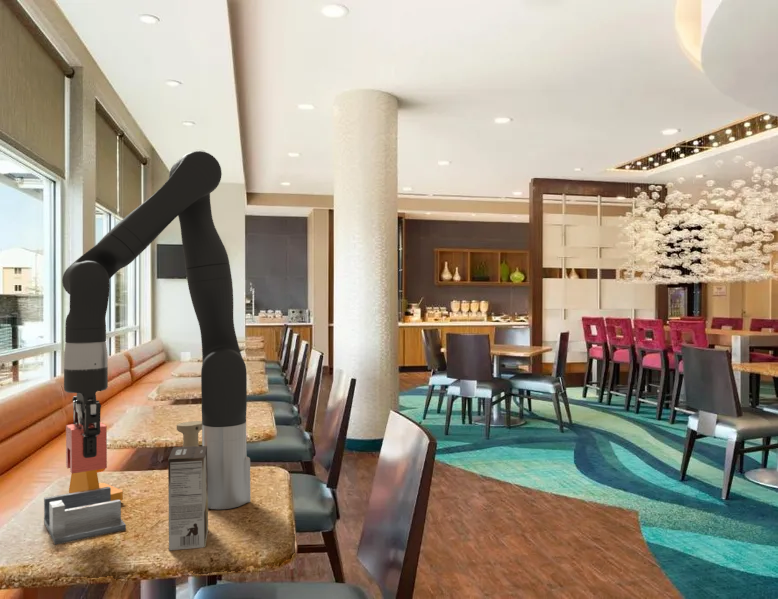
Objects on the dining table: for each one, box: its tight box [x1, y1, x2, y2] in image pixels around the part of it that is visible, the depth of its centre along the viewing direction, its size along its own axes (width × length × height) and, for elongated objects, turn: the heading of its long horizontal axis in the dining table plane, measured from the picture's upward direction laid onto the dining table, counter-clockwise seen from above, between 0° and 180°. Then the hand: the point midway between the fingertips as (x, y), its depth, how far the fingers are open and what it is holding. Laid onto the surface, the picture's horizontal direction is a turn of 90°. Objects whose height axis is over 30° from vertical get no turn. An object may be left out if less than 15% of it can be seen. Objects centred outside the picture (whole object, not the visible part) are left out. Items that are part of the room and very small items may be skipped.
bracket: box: [68, 468, 124, 502], centre depth 135 cm, size 11×7×12 cm, turn 49°
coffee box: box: [167, 445, 209, 551], centre depth 113 cm, size 9×6×16 cm
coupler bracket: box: [43, 487, 127, 546], centre depth 120 cm, size 12×14×6 cm
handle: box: [176, 420, 202, 447], centre depth 145 cm, size 5×6×15 cm
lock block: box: [65, 421, 108, 474], centre depth 118 cm, size 6×6×8 cm
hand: (86, 453), depth 118 cm, fingers closed on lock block, 6 cm apart
